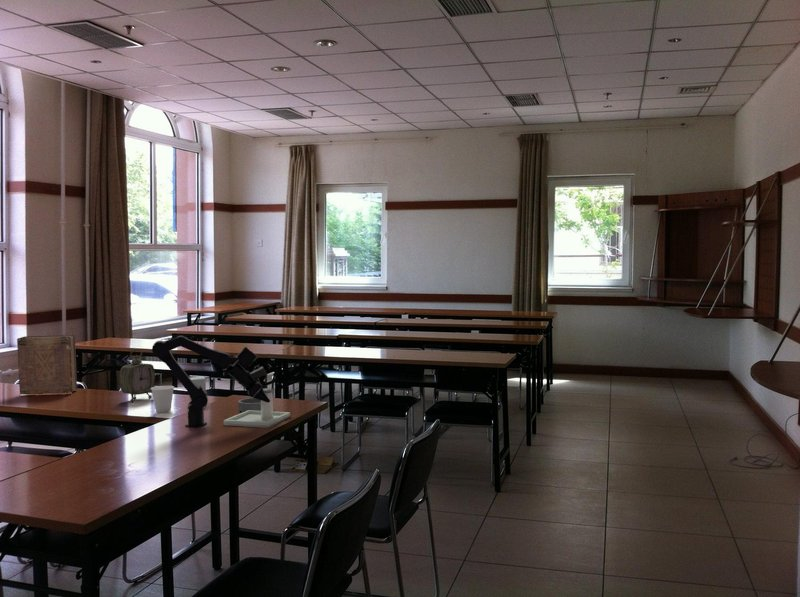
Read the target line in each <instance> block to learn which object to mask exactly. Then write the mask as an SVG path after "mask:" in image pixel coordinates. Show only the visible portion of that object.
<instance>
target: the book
mask: <svg viewBox="0 0 800 597" xmlns="http://www.w3.org/2000/svg"><path fill="white" fill-rule="evenodd" d="M16 344H17V345H16V346H17V364H18V367H17V368H18V382H19V383H18V385H19V395H20V394H43V393H65V392H66V393H68V392H73V391H74V390H77V391H78V382H77V381H78V380H77V379H78V378H77V359H76V358H77V355H76V336H75V334H60V335H58V334H57V335H30V336H29V335H28V336H21V337H18V338H16ZM73 393H74V392H73Z"/></svg>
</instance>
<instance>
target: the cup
mask: <svg viewBox="0 0 800 597" xmlns="http://www.w3.org/2000/svg"><path fill="white" fill-rule="evenodd" d="M174 389H175V386H173V385H159V386H158V385H157V386H154V387H152V388H151V390H152V391H151V393H152V399H153V403H154V408H155V412H156V413H157V414H166V413H170V412H172V410H171V409H172V403H173V394H174Z"/></svg>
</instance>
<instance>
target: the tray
mask: <svg viewBox="0 0 800 597" xmlns="http://www.w3.org/2000/svg"><path fill="white" fill-rule="evenodd" d="M290 417H291V412H290V411H289V412H288V411H287V412H286V411H273V418H272V419H261V411H253V410H248V411H245V412H240V413H238V414H236V415H233V416H231V417H228V418H226V419H223V426H232V427H233V426H234V427H249V428H251V427H252V428H263V429H264V428H265V429H269V428H270V427H273V426H274V425H276V424H278V423H281V422H283V421H285V420H287V419H289V418H290Z"/></svg>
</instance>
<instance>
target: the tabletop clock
mask: <svg viewBox="0 0 800 597" xmlns="http://www.w3.org/2000/svg"><path fill="white" fill-rule="evenodd" d="M137 351H138V352H140V354H139V355H138V354H136V355H135V356H133V355H132V353H134V352H137ZM129 356H130V357H131V358H132V360H131V362H130V364H125V365H123V366H122V367H121V368H120V371H119V385H120V390H121V392H122V393H123V394H127V395H130V396H131V399H130V403H134V401H135V400H133V399H136V400H137V395H144V394H146V395H147V396H148V399H153V395H151V394H150V393H152V390H151V388H152V387H156V386H155V384H156V374H155V368H154V365H153V364H152V363H143V361H142V360H141V359H140V358H141V357H142V356H143V351H142V350H141V349H138V348H136V349H133V350H131V352H130V354H129Z"/></svg>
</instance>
